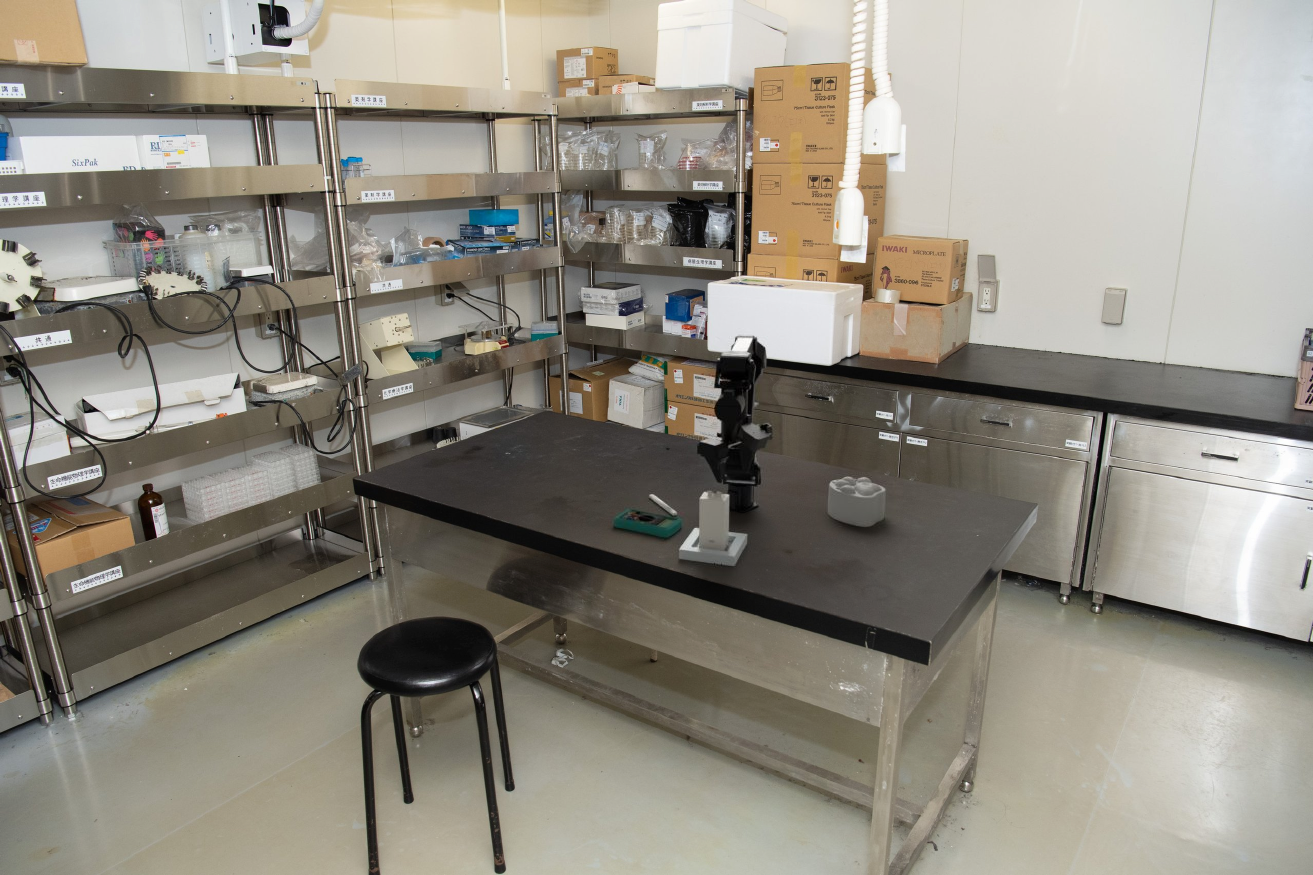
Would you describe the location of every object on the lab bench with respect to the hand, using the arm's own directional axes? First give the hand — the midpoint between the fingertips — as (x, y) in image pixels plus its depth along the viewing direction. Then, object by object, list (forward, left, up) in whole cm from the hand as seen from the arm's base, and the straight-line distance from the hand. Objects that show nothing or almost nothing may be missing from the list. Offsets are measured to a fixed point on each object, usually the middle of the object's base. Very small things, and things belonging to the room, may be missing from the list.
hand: (732, 477), depth 194 cm
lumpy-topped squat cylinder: (-27, +15, -13) cm, 34 cm away
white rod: (0, -22, -13) cm, 26 cm away
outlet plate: (+11, +4, -13) cm, 17 cm away
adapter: (+11, +4, -12) cm, 17 cm away
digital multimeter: (+11, -16, -14) cm, 24 cm away
